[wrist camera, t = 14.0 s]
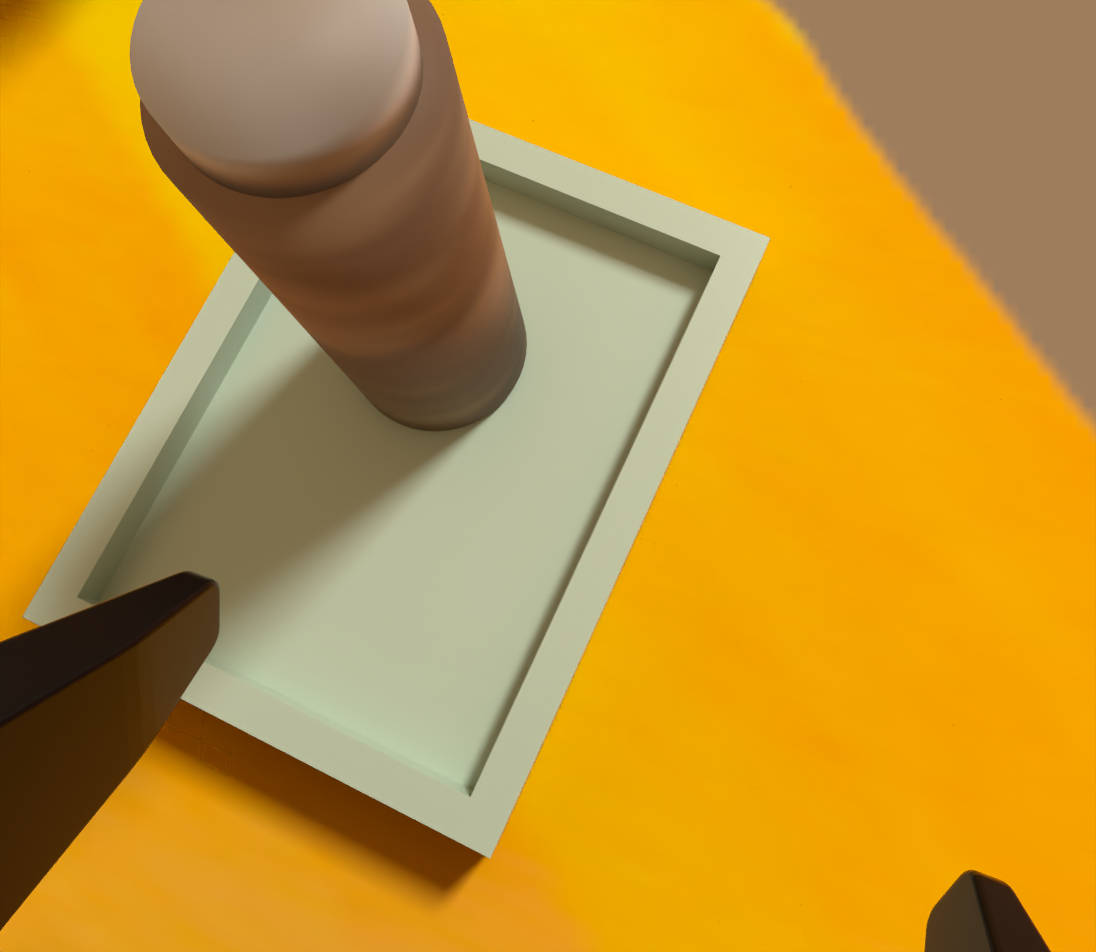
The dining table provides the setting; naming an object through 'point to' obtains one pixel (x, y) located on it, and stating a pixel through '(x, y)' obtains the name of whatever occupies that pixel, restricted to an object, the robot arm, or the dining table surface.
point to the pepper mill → (342, 186)
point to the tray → (422, 498)
